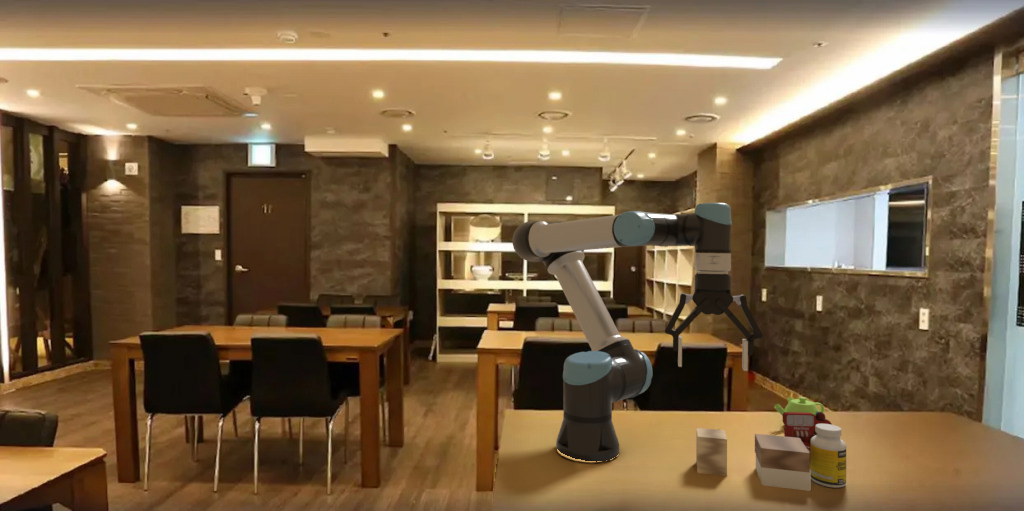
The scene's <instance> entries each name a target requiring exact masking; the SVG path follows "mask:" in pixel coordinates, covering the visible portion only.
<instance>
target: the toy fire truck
mask: <svg viewBox="0 0 1024 511" xmlns="http://www.w3.org/2000/svg"><path fill="white" fill-rule="evenodd" d="M825 418H826V415H825V413H824V412H823V413H822V412H817V413H816V415H814V414H812V413H807V412H784V413H783V416H782V423H783V425H784V433H783V434H784V435H783V436H785V437H795V438H800V439H801V441H802V442H803V444H804V445H805V447H806V448H807V450H808V451H809V453H810V451H811V438H812V437H813V436H815V435H817V433H816V432H815V426H816V424H831V425H833V424H832V422H831V421H830V420H829V419H827V418H826V419H825Z"/></svg>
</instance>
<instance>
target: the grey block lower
mask: <svg viewBox="0 0 1024 511" xmlns="http://www.w3.org/2000/svg"><path fill="white" fill-rule="evenodd" d="M755 471H756V473H757V475H758V478H759V481H760V483H761V485H762V486H767V487H775V488H783V489H784V488H785V489H790V490H791V489H792V490H800V491H808V492H809V491H810V492H811V490H812V487H811V486H812V485H811V484H812V479H811V472H810V473H808V472H799V471H790V470H781V469H772V468H763V467H761V466H760V463H759V461H758V458H757V456H756V455H755Z"/></svg>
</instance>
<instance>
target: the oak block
mask: <svg viewBox="0 0 1024 511" xmlns="http://www.w3.org/2000/svg"><path fill="white" fill-rule="evenodd" d="M695 444H696V447H695V448H696V455H695V456H696V470H697V471H696V472H697V474H704V475H705V474H706V475H714V476H723V477H728V438H727V433H726V431H725V429H713V428H705V427H703V428H702V427H696V443H695Z"/></svg>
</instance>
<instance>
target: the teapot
mask: <svg viewBox="0 0 1024 511" xmlns="http://www.w3.org/2000/svg"><path fill="white" fill-rule="evenodd" d="M818 406H819V407H820V409H819V408H818ZM824 406H825V405H823V404H822V403H821V402H813V401H811V400H807V397H804V396H798V398H795V399H794V397H790V396H789V397H788V398H787V404H786V406H785V408H783V407H782V405H780V404H779V403H777V404H775V405H774V409H775V410H776V411H777V412H778V414H780V415H781V416H782V417H783V413H784V412H807V413H812V414H814V415H816V413H817V412H822V413H824V411H825V407H824ZM825 419H827V418H826V417H825Z"/></svg>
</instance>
